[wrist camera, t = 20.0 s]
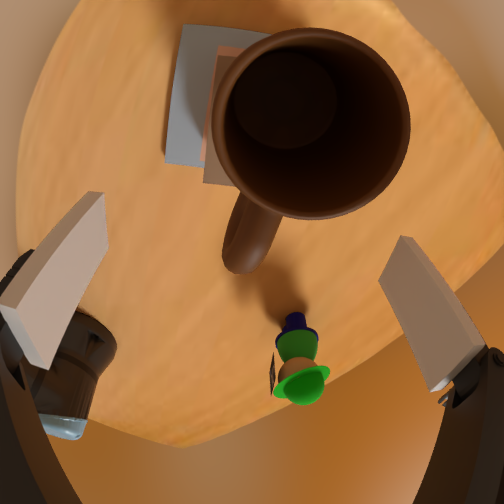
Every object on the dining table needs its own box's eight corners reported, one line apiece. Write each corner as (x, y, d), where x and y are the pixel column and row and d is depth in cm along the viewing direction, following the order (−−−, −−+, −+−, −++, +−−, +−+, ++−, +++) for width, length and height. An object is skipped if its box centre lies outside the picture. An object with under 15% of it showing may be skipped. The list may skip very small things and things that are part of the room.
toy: (271, 306, 46) (278, 390, 34) (323, 306, 47) (343, 386, 34) (266, 340, 51) (271, 415, 39) (313, 339, 52) (326, 412, 40)
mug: (283, 221, 22) (302, 316, 14) (186, 185, 20) (151, 270, 13) (361, 78, 16) (445, 99, 8) (254, 26, 14) (262, -12, 6)
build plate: (167, 159, 32) (152, 179, 27) (185, 25, 23) (171, 16, 18) (332, 187, 34) (347, 211, 29) (368, 63, 25) (393, 65, 20)
